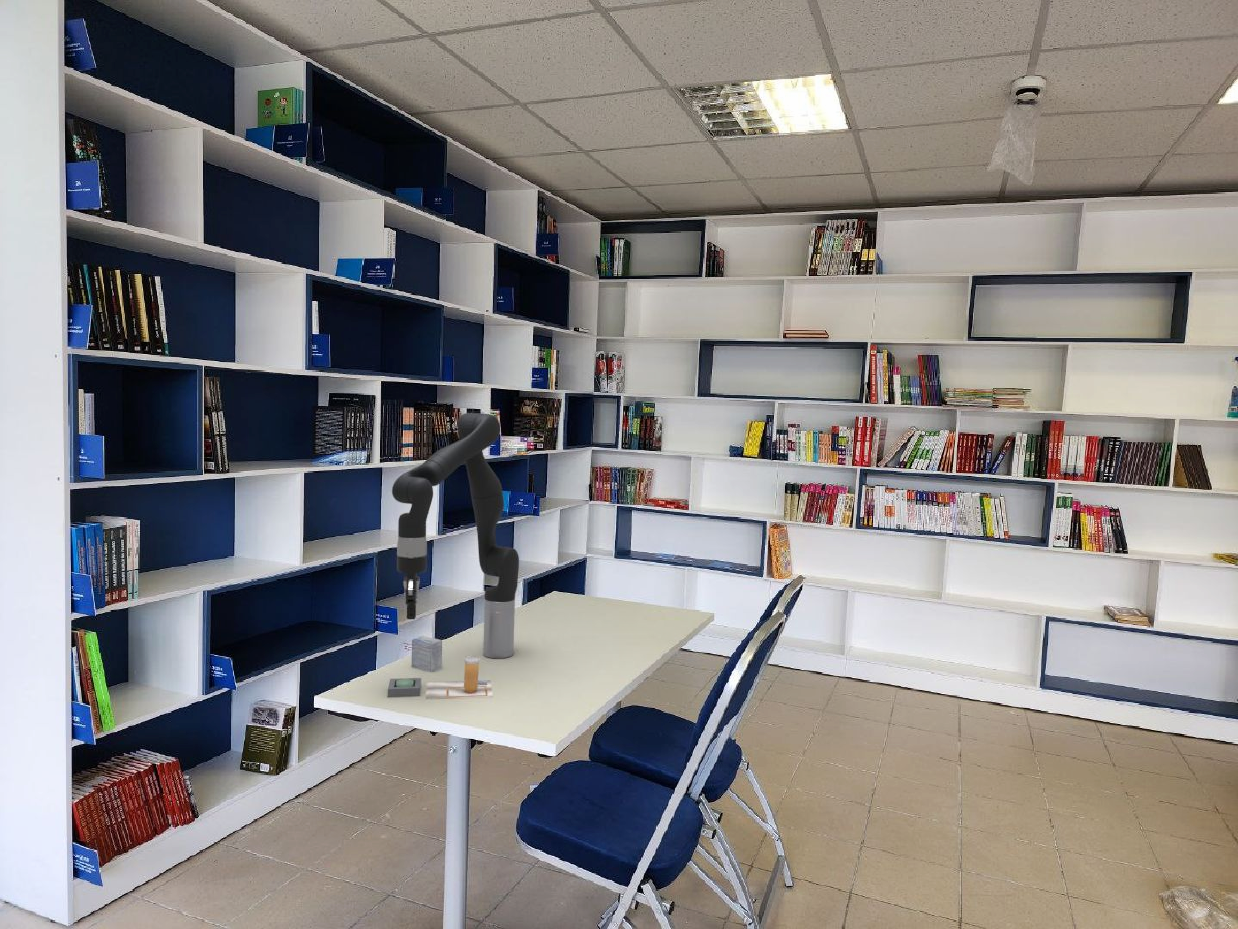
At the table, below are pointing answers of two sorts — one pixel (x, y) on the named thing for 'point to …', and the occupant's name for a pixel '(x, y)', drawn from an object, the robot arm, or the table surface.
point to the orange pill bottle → (471, 673)
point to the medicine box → (427, 653)
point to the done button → (405, 683)
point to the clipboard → (457, 690)
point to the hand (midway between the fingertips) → (411, 618)
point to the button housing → (404, 688)
